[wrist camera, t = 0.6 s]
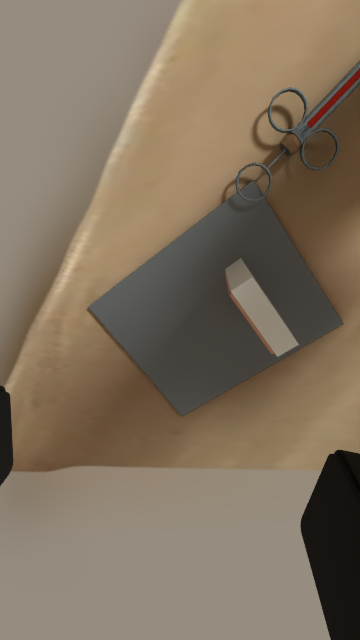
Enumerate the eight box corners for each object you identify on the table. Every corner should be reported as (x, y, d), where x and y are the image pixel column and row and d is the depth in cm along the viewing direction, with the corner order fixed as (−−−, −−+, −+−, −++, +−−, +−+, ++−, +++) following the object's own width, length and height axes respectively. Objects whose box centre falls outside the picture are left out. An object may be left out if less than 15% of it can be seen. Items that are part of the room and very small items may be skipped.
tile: (240, 257, 33) (252, 276, 24) (276, 310, 34) (298, 344, 26) (222, 270, 33) (227, 293, 25) (258, 321, 35) (274, 358, 27)
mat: (252, 180, 31) (253, 180, 30) (341, 322, 35) (343, 323, 34) (89, 305, 36) (88, 307, 36) (182, 414, 41) (182, 416, 40)
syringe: (430, 64, 26) (445, 55, 25) (265, 225, 31) (269, 226, 30) (375, -16, 25) (387, -31, 23) (211, 166, 30) (212, 164, 28)
